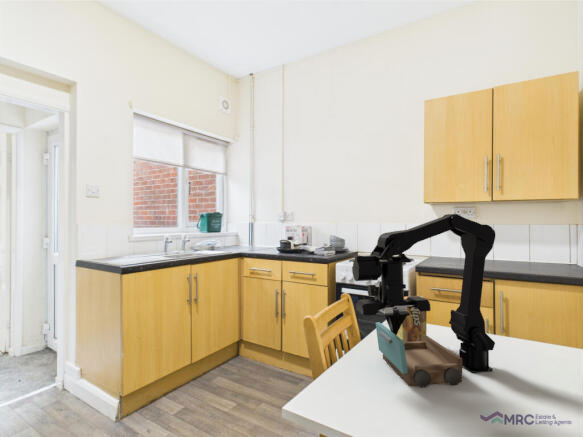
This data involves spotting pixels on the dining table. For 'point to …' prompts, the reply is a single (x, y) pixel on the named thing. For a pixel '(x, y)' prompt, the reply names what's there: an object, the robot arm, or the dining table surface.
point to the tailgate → (391, 347)
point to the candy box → (413, 325)
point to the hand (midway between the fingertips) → (393, 337)
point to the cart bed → (429, 364)
